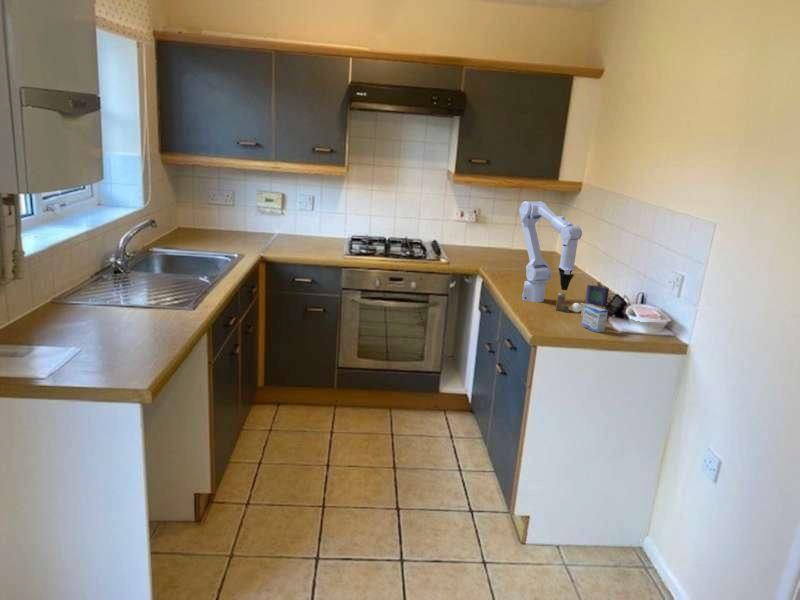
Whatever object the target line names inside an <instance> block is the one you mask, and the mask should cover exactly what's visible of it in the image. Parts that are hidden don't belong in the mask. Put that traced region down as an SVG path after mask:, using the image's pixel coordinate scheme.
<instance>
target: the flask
mask: <svg viewBox="0 0 800 600" xmlns="http://www.w3.org/2000/svg"><path fill="white" fill-rule="evenodd" d="M609 292H610V288H609V287H608V286H605V285H602V284H601V281H599V282H596V285H595V284H588V285H587V287H586V293H585V294H586V295H585V300H584V304H593V305H594V306H599V307H607V306H606V304H608V299H609Z"/></svg>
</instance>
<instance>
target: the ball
mask: <svg viewBox="0 0 800 600" xmlns="http://www.w3.org/2000/svg"><path fill="white" fill-rule="evenodd" d="M570 308H571V309H570V310H571V311H572V312H573V313H579V312H580V311H582V310H581V303H579V302H574V303H572V304H571V306H570Z"/></svg>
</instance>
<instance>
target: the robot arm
mask: <svg viewBox="0 0 800 600" xmlns="http://www.w3.org/2000/svg"><path fill="white" fill-rule="evenodd" d="M518 211H519V215H520V216H519V217H520V220H521V229H522V232H523V237H524V242H525V245H526V250H527V254H528V259H529V262H528V263H527V264H526V266H525V269H526V271H525V272H526V273H525V275H526V276H525V277H526V279H527V280H524V284H523V292H522V294H521V295H522V296H521V297H522V301H527V302H533V303H543V302H544V301H545V295H546V294H545V293H546V286H547V283H548V281H549V280H550V279H551V277H552V271H551V268H550V267H549V263H548V262H547V261H545V260H544V259H543V256H542V252H541V247H540V241H539V238H538V234H537V228H536V223H538V222H539V220H540V219H541V218H542V217H543V219H545V220H546V221H548V222H550V225H551V228H553V230H555V231H556V232H557V233H558V234H560V237H561V243H562V247H561V252H560V259H559V260H560V261H559V265H558V271H559V276H560V277H559V278H560V279H559V280H560V287H561V290H562V291H567V290H568V288H569V286H570V283H571V281H572V279H573V278H574V276H575V275H574V274H573V273H572V272H573V270H577V268H578V267H577V266H575V262H576V256H577V248H578V242H579V240H581V238H582V235H583V231H582V228H581V227H580V226H579V225H574V224H573V223H572V222H569V221H568V220H567V219H566V217H565V216H564V215H559V216H557V214H555V213H554V212H553V211H552V210H551V209H550V208H549V207H548V205H547V204H546V203H545V202H543V201H540V200H539V201H527V200H525V201H523V202H522V203H521V205H520V206H519V209H518Z"/></svg>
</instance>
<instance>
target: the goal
mask: <svg viewBox="0 0 800 600" xmlns="http://www.w3.org/2000/svg"><path fill="white" fill-rule="evenodd" d="M580 305H581V310H580V311H581V314H580V315H581V317H583V313H584V307H585V306H586V305H594V304H589V303H585V302H584V303H583V302H580Z"/></svg>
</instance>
